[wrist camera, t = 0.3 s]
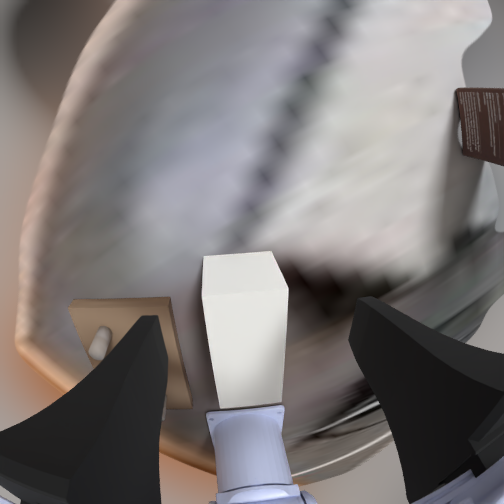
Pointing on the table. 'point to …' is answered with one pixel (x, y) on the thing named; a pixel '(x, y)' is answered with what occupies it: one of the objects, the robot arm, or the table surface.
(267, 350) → the white rectangular block
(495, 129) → the box
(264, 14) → the table surface
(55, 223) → the table surface
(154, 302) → the peg board
